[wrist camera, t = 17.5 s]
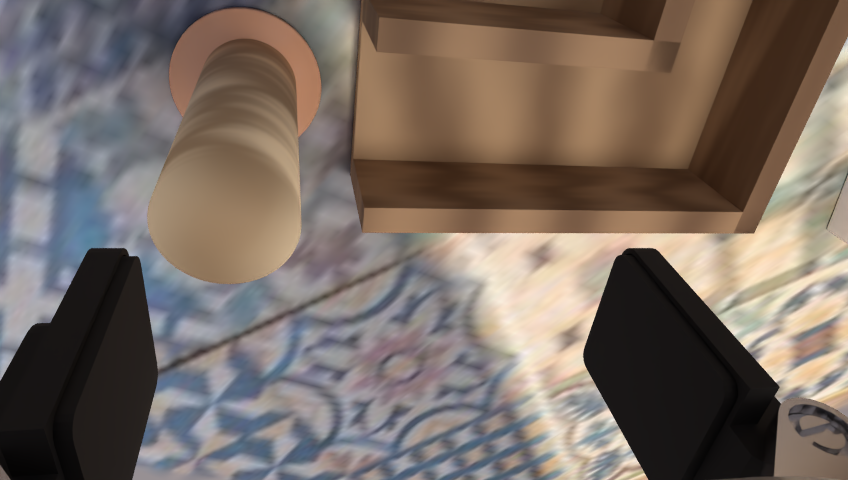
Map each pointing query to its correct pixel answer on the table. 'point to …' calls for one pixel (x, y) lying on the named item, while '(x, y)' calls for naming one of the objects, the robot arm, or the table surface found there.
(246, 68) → the beech peg
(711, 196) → the channel board
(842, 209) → the milk
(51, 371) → the robot arm
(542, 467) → the table surface
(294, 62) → the pad
